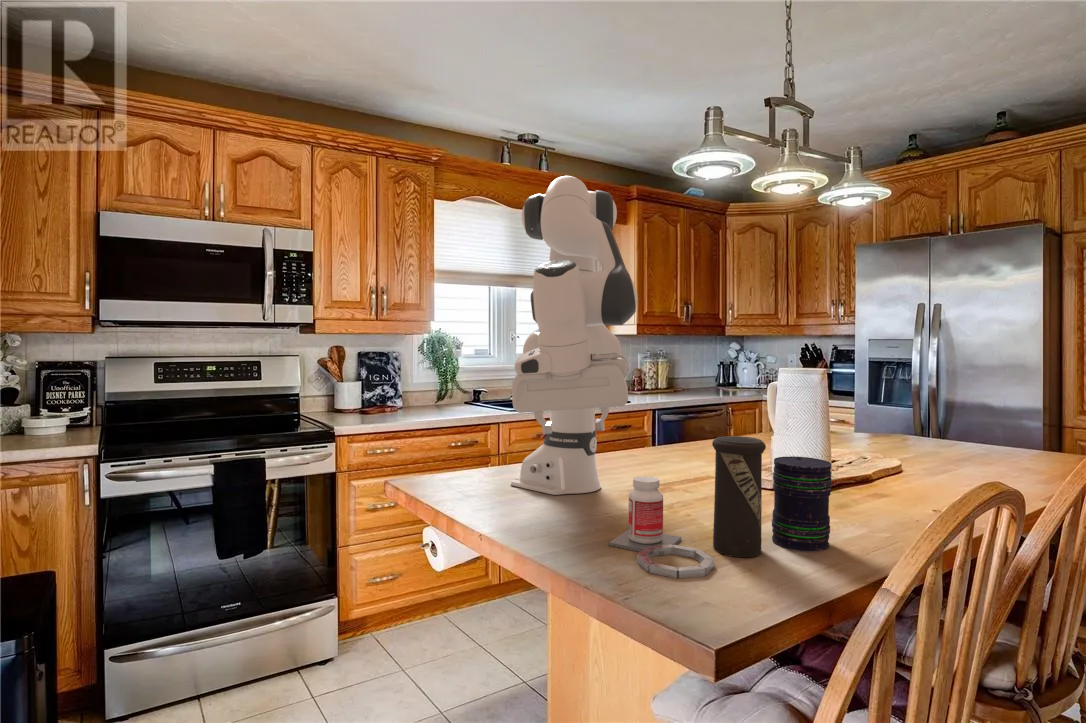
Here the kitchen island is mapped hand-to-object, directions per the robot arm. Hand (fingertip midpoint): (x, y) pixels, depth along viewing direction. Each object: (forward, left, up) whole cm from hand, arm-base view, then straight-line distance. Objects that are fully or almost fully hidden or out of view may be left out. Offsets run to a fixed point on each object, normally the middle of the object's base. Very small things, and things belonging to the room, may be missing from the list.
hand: (573, 431), depth 111 cm
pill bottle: (+11, +8, -20) cm, 24 cm away
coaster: (+11, +8, -20) cm, 24 cm away
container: (+26, +13, -21) cm, 35 cm away
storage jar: (+35, +23, -21) cm, 46 cm away
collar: (+19, 0, -20) cm, 28 cm away
